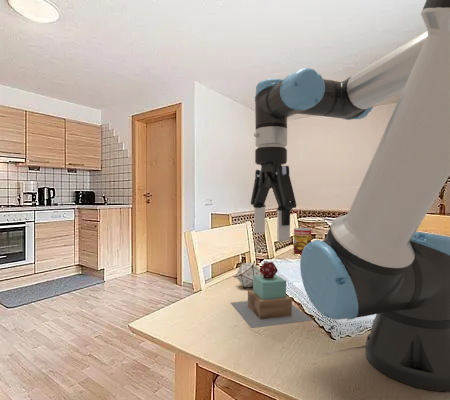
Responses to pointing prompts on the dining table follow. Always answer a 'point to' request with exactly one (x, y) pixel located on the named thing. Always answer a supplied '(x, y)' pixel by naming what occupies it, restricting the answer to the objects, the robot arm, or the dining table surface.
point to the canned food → (301, 239)
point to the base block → (269, 306)
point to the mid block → (269, 287)
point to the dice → (268, 270)
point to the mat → (256, 322)
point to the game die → (247, 274)
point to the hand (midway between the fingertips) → (270, 236)
